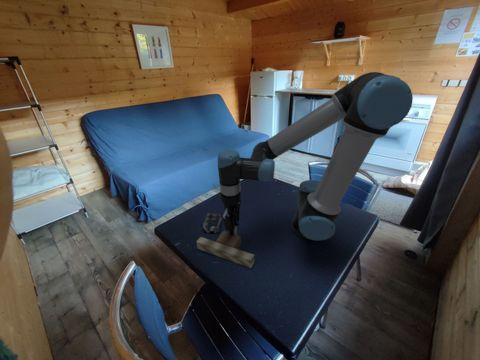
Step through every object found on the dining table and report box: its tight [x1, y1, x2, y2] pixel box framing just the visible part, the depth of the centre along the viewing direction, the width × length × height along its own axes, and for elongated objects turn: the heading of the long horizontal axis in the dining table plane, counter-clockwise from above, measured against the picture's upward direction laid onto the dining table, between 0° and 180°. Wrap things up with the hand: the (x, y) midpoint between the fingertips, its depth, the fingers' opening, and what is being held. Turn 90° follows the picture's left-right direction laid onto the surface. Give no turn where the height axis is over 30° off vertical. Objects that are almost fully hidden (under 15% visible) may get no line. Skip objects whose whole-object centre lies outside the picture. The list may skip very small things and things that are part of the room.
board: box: [195, 236, 255, 269], centre depth 88 cm, size 24×3×4 cm, turn 64°
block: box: [215, 230, 242, 250], centre depth 92 cm, size 8×6×5 cm
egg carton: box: [202, 212, 223, 234], centre depth 104 cm, size 11×8×4 cm
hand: (233, 238), depth 95 cm, fingers closed
